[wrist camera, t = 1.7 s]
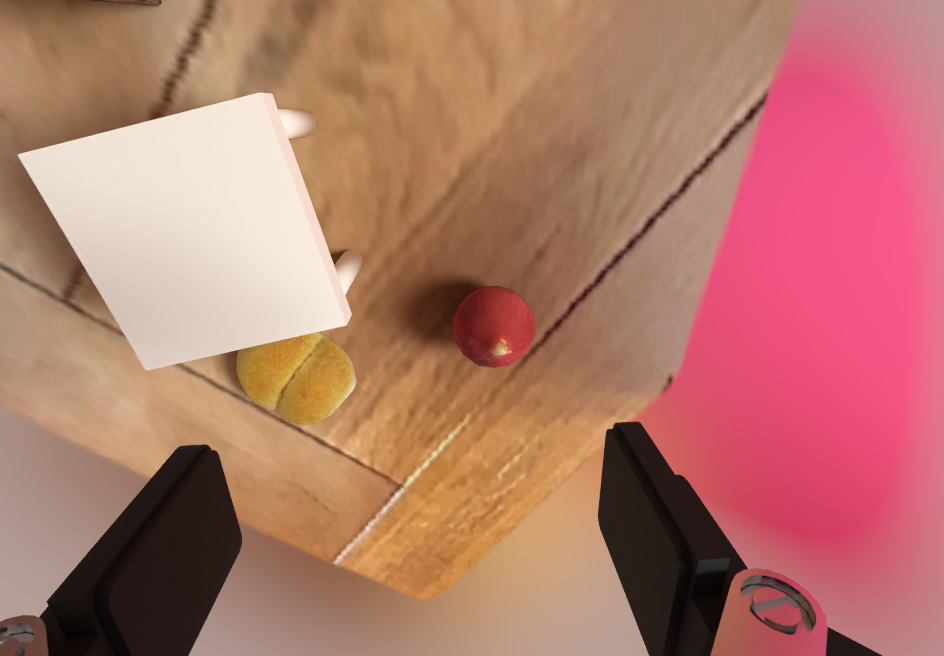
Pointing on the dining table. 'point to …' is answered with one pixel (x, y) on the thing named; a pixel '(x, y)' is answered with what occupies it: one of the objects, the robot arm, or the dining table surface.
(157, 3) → the book
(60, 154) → the stool
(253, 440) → the dining table surface
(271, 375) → the bread roll
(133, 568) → the robot arm
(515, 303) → the onion
